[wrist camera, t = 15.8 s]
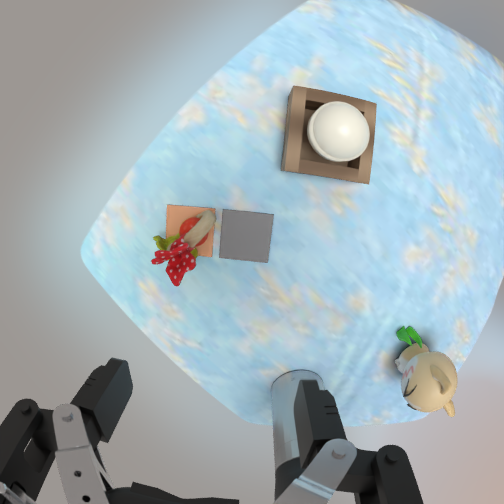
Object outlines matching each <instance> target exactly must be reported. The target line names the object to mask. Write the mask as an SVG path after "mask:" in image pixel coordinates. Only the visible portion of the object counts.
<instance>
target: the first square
mask: <svg viewBox="0 0 504 504" xmlns="http://www.w3.org/2000/svg"><path fill="white" fill-rule="evenodd" d="M273 216H274V214H265V213H255V212H246V211H236V210H226V209H223V215H222V228H221V240H220V253H219V258H225V259H235V260H244V261H254V262H264V263H268V257H269V249H270V241H271V233H272V225H273Z"/></svg>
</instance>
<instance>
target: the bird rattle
mask: <svg viewBox="0 0 504 504" xmlns="http://www.w3.org/2000/svg"><path fill="white" fill-rule="evenodd" d="M215 221H216V216H215V214H214V213H213V212H212V211H210V210H206V211H204V212H202V213H201V214H198V215H197V216H196V217H190V218H188V219H186V220H184V221H183V222H182V224H181V226H180V228H179V233H178V234H176V236H170V237H168V238H167V239H163V238H161V237H160V236H155V237H153V239H154V240H155V241H157V242H156V245H157V247H158V248H159V249H160V250H159V251H156V252H155V257H156V258H155V259H153V260H151V262H152V264H161V263H163V262H164V261H167V260H169V262H168V265H167V268H166V272H167V274H168V275H169V277H170V279H171V281H172V283H173V284H174V285H175V286H179V285H180V283H181V280H182V278H183V276H184V274H185V272H187V271H191V270H193V269H194V268H195V266H196V257H197V256H198V251H197V249H196V247H197V246H200V245H202V244H203V243H204V242H205V241H206V240H207V238H208V234H209V230H210V229H211V228H212V226H213V225H214V223H215Z"/></svg>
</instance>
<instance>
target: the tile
mask: <svg viewBox="0 0 504 504" xmlns="http://www.w3.org/2000/svg"><path fill="white" fill-rule="evenodd" d="M206 210H210V211H212V212H213V213H214V214H215V210H216V209H215V208H204V207H192V206H179V205H167V219H166V239H167V238H168V237H170V236H176V234H178V233H179V228H180V226H181V224H182V222H183V221H184V220H186V219H188V218H190V217H196V216H197V215H198V214H201V213H202V212H204V211H206ZM213 236H214V225H213V226H212V228H211V229H210V230H209V234H208V238H207V240H206V241H205V242H204V243H203V244H202V245H200V246H197V247H196V249H197V251H198V256H207V257H212V251H213Z"/></svg>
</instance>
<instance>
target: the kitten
mask: <svg viewBox="0 0 504 504" xmlns="http://www.w3.org/2000/svg"><path fill="white" fill-rule="evenodd" d="M409 336H410V337H411V338H412V339H413V340H414V341H416V342H417V343H414V344H412V343H411V340H410V338H409ZM397 337H398V339H399V340H401V341H405V342H406V343H408V344H409V345H411V346H409V347H408V348H406V349H405V350H404V351H403V352H402V353H401V355H400V356H399V358H397V359H396V360H395V364H396V365H397V369H398V370H399V371H400V372H401V373H403V376H402V381H401V389H402V394H403V397H404V398H405V400H406V401H407V402H408V403H409V404H407V405H408V406H409V407H411V408H412V409H415V410H418V411H421V412H433V411H437V410H439V409H441V408H442V407H443V408H444V409H445V410H446V412H447V414H448V415H449V416H451V417H453V416H454V415H455V410H454V405H453V402H452V401H451V398H452V397H453V395H454V393H455V391H456V387H457V373H456V369H455V367H454V364H453V363H452V361H451V360H450V358H449V357H448V356H446V355H445V354H443V353H441V352H436V351H433V352H429V349H428V347H427V346H426V345H425V344H423V343H422V340H421V338H420V336H419V335H418V333H417V332H416V331H415V330H414V329H413V328H412V327H408V328H407V329H406V330H405V327H404V326H403V327H402V328H401V329H400V330H399V331H398V332H397Z"/></svg>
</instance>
